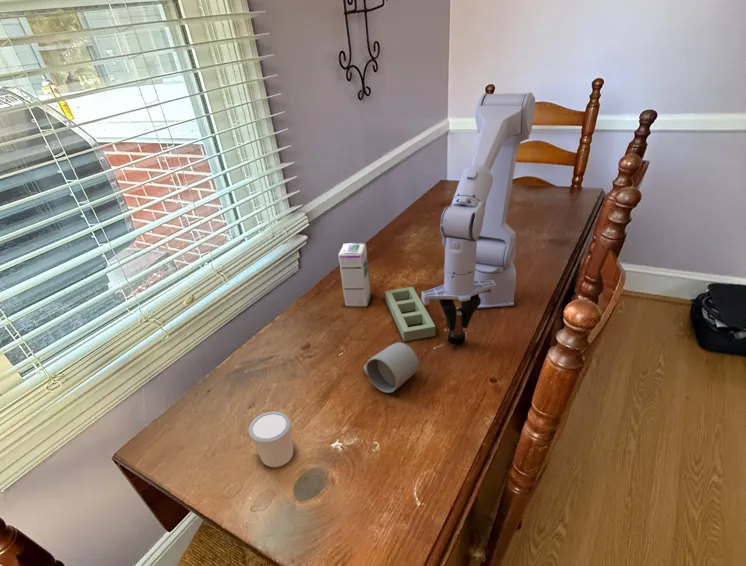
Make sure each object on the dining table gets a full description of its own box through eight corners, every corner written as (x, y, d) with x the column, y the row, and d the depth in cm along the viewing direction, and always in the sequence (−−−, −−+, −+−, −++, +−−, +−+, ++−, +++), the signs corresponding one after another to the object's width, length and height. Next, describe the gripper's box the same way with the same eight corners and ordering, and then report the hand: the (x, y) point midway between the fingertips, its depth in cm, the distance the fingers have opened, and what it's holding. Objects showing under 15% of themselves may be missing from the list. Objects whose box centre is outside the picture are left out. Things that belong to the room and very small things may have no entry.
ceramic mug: (422, 376, 94) (421, 345, 89) (397, 399, 89) (395, 367, 85) (380, 358, 100) (377, 328, 96) (355, 379, 96) (351, 348, 91)
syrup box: (367, 307, 117) (362, 252, 108) (344, 306, 118) (337, 253, 110) (371, 295, 121) (366, 242, 113) (348, 294, 123) (342, 242, 114)
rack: (412, 295, 119) (412, 286, 118) (435, 335, 104) (435, 326, 103) (385, 299, 119) (384, 291, 117) (403, 341, 104) (403, 332, 102)
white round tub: (258, 441, 84) (249, 413, 80) (296, 436, 84) (290, 408, 80) (256, 472, 79) (246, 444, 75) (297, 467, 79) (290, 438, 75)
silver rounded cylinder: (463, 334, 102) (465, 302, 97) (466, 344, 99) (468, 312, 94) (446, 335, 102) (447, 304, 97) (449, 345, 99) (450, 313, 94)
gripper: (428, 283, 87) (428, 343, 95) (505, 271, 88) (498, 331, 96) (418, 267, 92) (418, 324, 100) (490, 255, 93) (484, 313, 101)
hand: (456, 326), depth 98 cm, fingers closed on silver rounded cylinder, 2 cm apart
